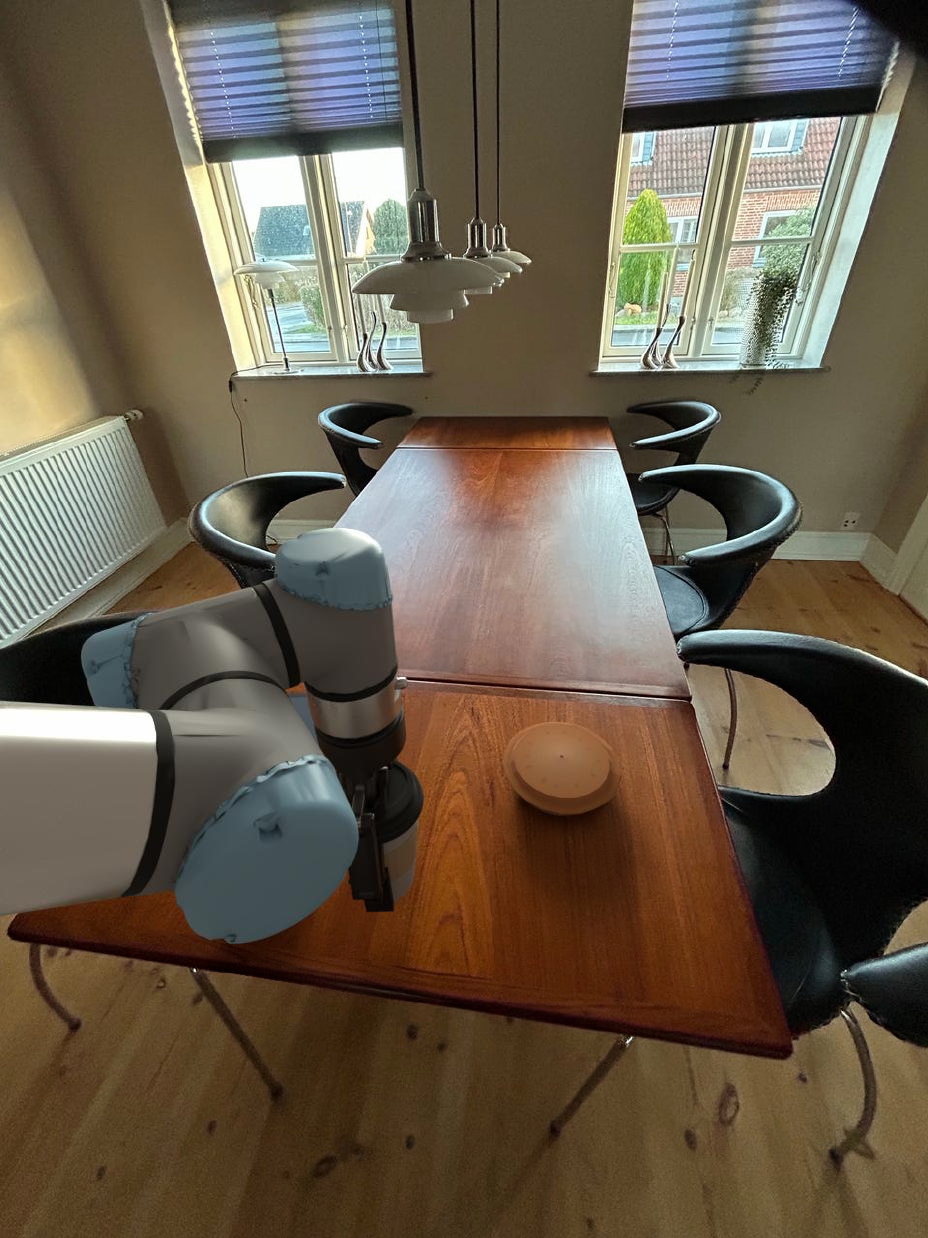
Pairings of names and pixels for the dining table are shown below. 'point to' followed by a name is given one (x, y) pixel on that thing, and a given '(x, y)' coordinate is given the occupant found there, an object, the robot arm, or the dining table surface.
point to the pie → (561, 768)
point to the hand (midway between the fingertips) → (385, 866)
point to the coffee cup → (400, 826)
